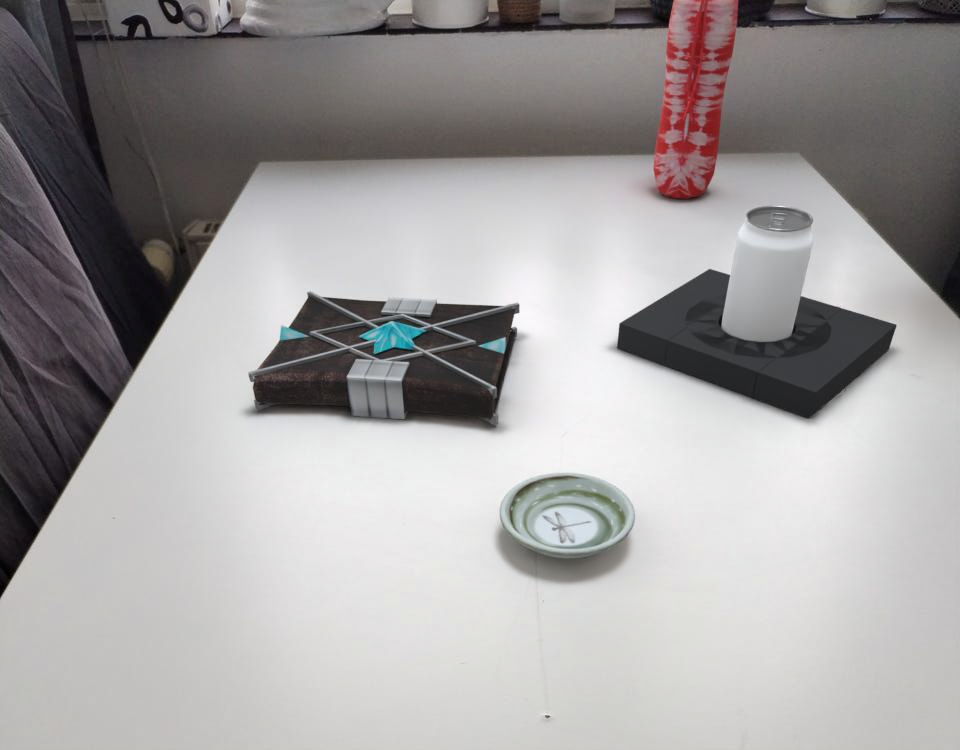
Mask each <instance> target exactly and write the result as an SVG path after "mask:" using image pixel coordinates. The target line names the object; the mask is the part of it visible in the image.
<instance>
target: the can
mask: <svg viewBox="0 0 960 750" xmlns="http://www.w3.org/2000/svg"><path fill="white" fill-rule="evenodd" d="M813 223H814V218H813V216H812V215H811V214H810V213H808V212H806V211H804V210H802V209H799V208H795V207H791V206H784V205H765V206H758V207H755V208H752V209H750V210H748V211H747V212H746V214H745V220H744V223H743V224H741V226H740V228H739V230H738V233H737V236H736V240H735V246H734V252H733V258H732V263H731V268H730V272H729V275H730V279H729V284H728V290H727V295H726V301H725V307H724V312H723V318H722V324H721V329H722V330H723V331H725V332H726V333H728V334H729V335H731V336H734V337H737V338H740V339H743V340H749V341H757V342H771V341H778V340H782V339H785V338H788V337H790V336H791V334H792V330H793V326H794V322H795V318H796V314H797V309H798V305H799V301H800V297H801V296H802V293H803V288H804V284H805V280H806V276H807V271H808V268H809V262H810V258H811V255H812V250H813V245H814V232H813V229H812V225H813Z"/></svg>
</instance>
